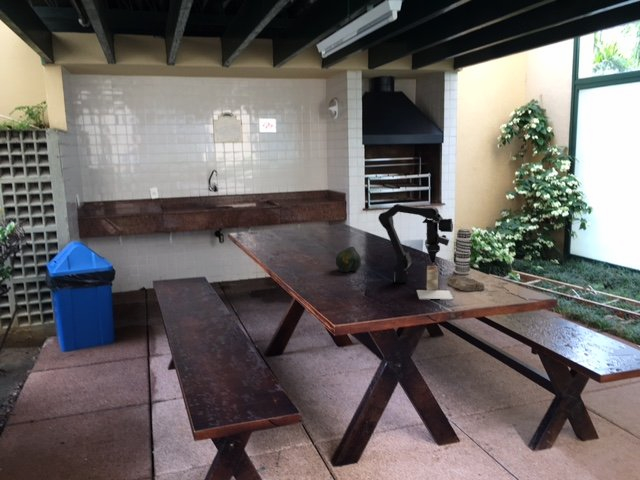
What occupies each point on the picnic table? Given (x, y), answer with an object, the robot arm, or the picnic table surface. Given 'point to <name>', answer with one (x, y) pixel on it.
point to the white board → (434, 294)
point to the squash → (348, 260)
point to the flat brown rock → (465, 283)
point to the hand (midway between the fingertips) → (432, 261)
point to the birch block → (432, 277)
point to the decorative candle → (463, 251)
